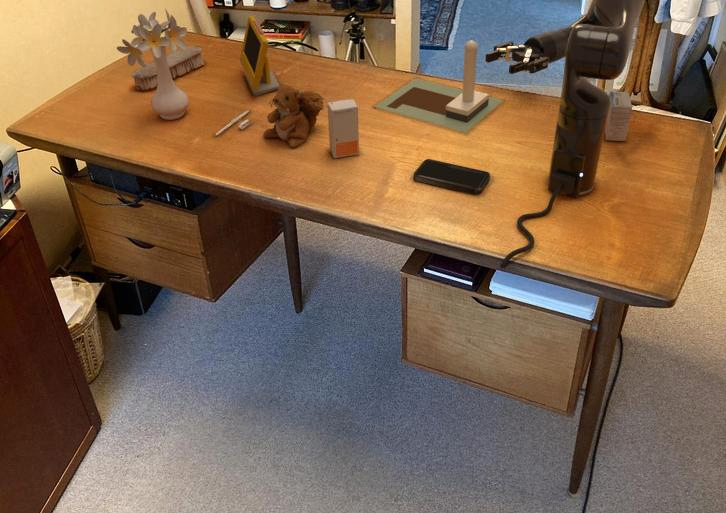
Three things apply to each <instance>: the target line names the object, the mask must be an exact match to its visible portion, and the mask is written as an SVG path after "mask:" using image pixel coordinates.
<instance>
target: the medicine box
mask: <svg viewBox="0 0 726 513" xmlns="http://www.w3.org/2000/svg"><path fill="white" fill-rule="evenodd" d="M608 95H609V97H610V107H609V112H608V117H607V122H606V127H605V132H604V136H605V140H606V141H610V142H626V140H627V137H628V130H629V126H630V121H631V116H632V112H633V105H632V100H631V94H630V92H628V91H609V93H608Z"/></svg>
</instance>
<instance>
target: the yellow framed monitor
mask: <svg viewBox="0 0 726 513" xmlns="http://www.w3.org/2000/svg"><path fill="white" fill-rule="evenodd" d="M268 49H269V41H268V39H267V37H266V35H265V31H263V29H262V27H261V25H260V23H259V22H258V20H257V19H256V17H255V16H254V15H251V14H249V15H248V17H247V21H246V27H245V32H244V36H243V41H242V47H241V52H240V57H239V62H240V64H241V66H242V68H243V70H244V78H245V80H246V81H247V83H248V86H249V88H250V90H251V93H252V95H253V96H254V97H257V96H260V95H264V94H268V93H271V92H275V91H278V88H279V87H280V82H279V81H278V80H277V77H276V75H275V74H274V71H273V70H270V63H269V58H268V56H267V53H268Z"/></svg>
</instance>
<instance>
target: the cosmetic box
mask: <svg viewBox="0 0 726 513" xmlns="http://www.w3.org/2000/svg"><path fill="white" fill-rule="evenodd" d="M326 105H327V120H328V121H327V123H328V124H327V125H328V138H329V140H328V141H329V151H330V153H331V155H332V156H333V159H337V158H338V159H339V158H344V157H350V156H351V157H352V156H356V155H357V156H358V155H360V142H359V141H360V138H359V136H360V135H359V134H360V130H359V105H357V103H356V101H355V99H354V98H351V99H343V100H342V99H341V100H337V101H331V102H327V103H326Z"/></svg>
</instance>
